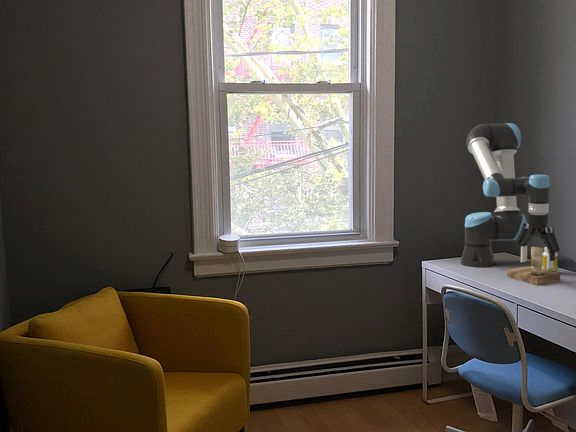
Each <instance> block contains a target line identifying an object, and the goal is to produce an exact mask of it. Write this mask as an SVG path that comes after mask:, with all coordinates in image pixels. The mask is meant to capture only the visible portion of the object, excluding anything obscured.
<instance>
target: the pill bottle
mask: <svg viewBox="0 0 576 432" xmlns="http://www.w3.org/2000/svg"><path fill="white" fill-rule="evenodd" d="M548 252H549V251H548V249H547V247H546V246H544V248H543V265H542V269H544V270H548V271H552V272H555V273H558V265H559V262H558V261H559V255H558V252H555V260H554V263H553V268H551V269H547V253H548Z"/></svg>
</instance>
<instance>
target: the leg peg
mask: <svg viewBox="0 0 576 432" xmlns="http://www.w3.org/2000/svg"><path fill="white" fill-rule="evenodd" d="M530 250H531V251H530V266H532V269H531V275H534V276H541V271H542V265H543V253H544V248H543V246H532V247H530Z"/></svg>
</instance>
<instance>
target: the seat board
mask: <svg viewBox="0 0 576 432" xmlns="http://www.w3.org/2000/svg"><path fill="white" fill-rule="evenodd" d="M531 269H532V265H527V266H522V267H516V268H510V269H506V270H507V271H506V277H507V278H509V277H510V279H513V280H516V279H517V280H516V281H520V280H521V281H520V282H523V281H524V283H527V284H531V285H534V286H541V285H547V284H550V283H556V282H557V283H558V282H561V273H559V272H557V273H555V272H552V271H548V270H544V269H542V271H541V276H534V275H531Z"/></svg>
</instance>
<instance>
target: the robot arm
mask: <svg viewBox="0 0 576 432" xmlns="http://www.w3.org/2000/svg"><path fill="white" fill-rule="evenodd" d="M466 137H467V138H466V142H465V143H466V148H467V150H468V152H469V153H470V154H471V155H473V158H474V159H475V162H476V164H477V166H478V168H479V171H480V173H481V175H482V177H483V178H484V181H483V184H482V191H483V194H484V196H485V197H488V198H489V197H490V198H496V208H495V210H494V211H493V213H492V212H488V211H481V212H474V213H473V212H472V213H470V214H468V215H466V217H465V219H464V248H463V251H462V254H461V256H460V264H461V265H464V266H467V267H475V268H483V267H484V268H485V267H486V268H487V267H492V266H494V265H495V264H496V262H495V257H494V253H493V249H492V242H494V241H495V242H498V241H515V240H516V241H515V242H516V245H519V254H520V263H525V262H527V261H528V245H527V244H528V243H529V242H530V240H531V239H532V238H533V237H538V238H540V239H541V240H542V242H543V244H544V246H545V247H547V249H548V251H549V252H548V253H547V269H551V268H553V263H554V260H555V252H556V253H558V252H561V248H560V245H559V244H558V241H557V237H556V235H555V229H554V226H551V227H548V226H547V225H548V223H549V210H550V207H549V205H550V186H551V183H550V176H549V175H547V174H532V175H530V176H522V177H516V175H515V174H516V172H515V171H516V170H515V159H514V157H515V155H516V153H517V152H518V151H517V149H519V148H520V146H521V145H522V143H521V142H522V135H521V130H520V128H519V127H518V125H516V124H515V123H507V122H503V123H502V122H501V123H481V124H479V125H477V126H474V127H473V128H472V129H471V130H470V131H469V133H468V135H467V136H466ZM517 197H528V217H527V219H526V216H525V215H524V214H522V213H521V212H522V211H521V209H520V208H519V207H518V206H517Z"/></svg>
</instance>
